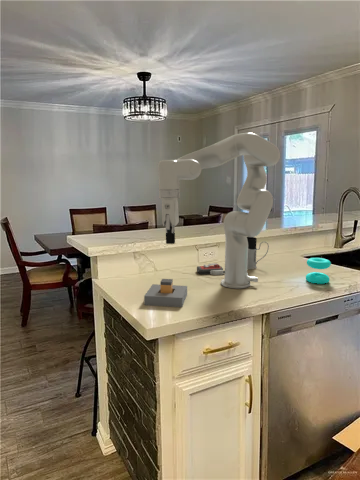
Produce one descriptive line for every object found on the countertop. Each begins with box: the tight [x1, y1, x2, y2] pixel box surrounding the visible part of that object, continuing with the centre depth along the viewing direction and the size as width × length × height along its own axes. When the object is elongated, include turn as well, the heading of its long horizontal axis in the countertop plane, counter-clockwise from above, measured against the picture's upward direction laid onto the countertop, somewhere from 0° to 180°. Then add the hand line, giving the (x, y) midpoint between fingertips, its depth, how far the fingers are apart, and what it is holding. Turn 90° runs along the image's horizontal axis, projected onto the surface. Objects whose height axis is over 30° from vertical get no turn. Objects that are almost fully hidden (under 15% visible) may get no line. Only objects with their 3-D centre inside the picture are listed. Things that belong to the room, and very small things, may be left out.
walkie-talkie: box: [196, 262, 225, 276], centre depth 177 cm, size 9×4×20 cm
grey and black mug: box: [246, 236, 270, 270], centre depth 185 cm, size 9×14×15 cm, turn 70°
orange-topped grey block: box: [159, 278, 174, 293], centre depth 139 cm, size 4×4×7 cm
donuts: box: [305, 257, 332, 285], centre depth 162 cm, size 10×10×10 cm
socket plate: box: [143, 283, 188, 308], centre depth 140 cm, size 14×14×4 cm
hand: (170, 243), depth 138 cm, fingers closed
